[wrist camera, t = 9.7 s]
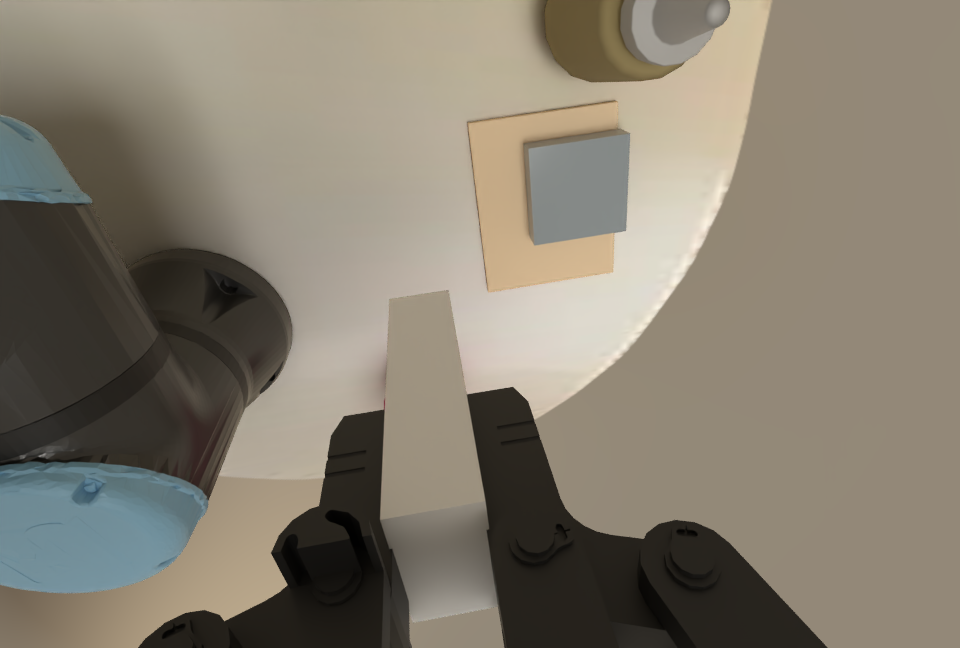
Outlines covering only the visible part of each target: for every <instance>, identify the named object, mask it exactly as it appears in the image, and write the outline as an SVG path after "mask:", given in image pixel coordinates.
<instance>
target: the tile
mask: <svg viewBox="0 0 960 648" xmlns="http://www.w3.org/2000/svg"><path fill="white" fill-rule="evenodd" d="M629 147H630V133H628V132H626V131H624V130H622V129H616V130H609V131H602V132H596V133H589V134H582V135H576V136H569V137H562V138H556V139H549V140H542V141H536V142H529V143H523V148H524V163H525V178H526V193H527V208H528V223H529V237H530V239H531V241H532V242H533V244H534V246H535V245H541V244H548V243H554V242H560V241H566V240H573V239H579V238H585V237H591V236H598V235H604V234H610V233H616V232H623V231H626V219H627V195H628V171H629Z"/></svg>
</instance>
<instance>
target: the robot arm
mask: <svg viewBox="0 0 960 648" xmlns="http://www.w3.org/2000/svg"><path fill="white" fill-rule="evenodd" d="M90 203H93V202H92V200H91V198H90V197H89V195H88V194H86V193H83V192H82V191H81V190H80V188H79V187H78V185H77V184H76V182H75V181H74V179H73V178H72V176H71V175H70V173H69V172H68V171H67V169H66V167H65V166H64V164H63V163H62V161H61V160H60V158H59V157H58V155H57V154H56V152H55V150H54V149H53V147H52V146H51V144H50V143H49V142H48V140H47V139H46V138H45V137H44V136H43V135H42V134H41V133H40V132H38V131H37V130H36V129H35V128H33V127H32V126H30V125H28V124H26V123H24V122H23V121H20V120H17V119H15V118H12V117H9V116H5V115H0V585H3V586H7V587H12V588H17V589H23V590H31V591H41V592H51V593H86V592H97V591H104V590H110V589H115V588H119V587H124V586H128V585H131V584H134V583H137V582H140V581H143V580H145V579H147V578H149V577H151V576H153V575H155V574H157V573H159V572H160V571H162V570H163V569H165V568H166V567H168V566H169V565H170V564H171V563H172V562H174V561H175V559H176V558H177V557H178V556H179V555H180V554H181V552H182V551H183V549H184V548H185V547H186V545H187V543H188V541H189V539H190V537H191V535H192V532H193V530H194V528H195V526H196V524H197V522H198V520H200V519H201V517H202V516H203V515H204V514H205V513H206V510H207V508H208V500H209V497H210V495H211V493H212V490H213V487H214V485H215V482H216V480H217V477H218V475H219V472H220V470H221V467H222V465H223V462H224V459H225V457H226V454H227V452H228V449H229V447H230V444H231V442H232V439H233V437H234V434H235V432H236V429H237V426H238V424H239V422H240V419H241V417H242V414H243V412H244V409H245V408H246V407H247V406H249V405H250V404H251V403H252V402H253V401H254V400H255V399H256V398H257V397H258V396H259V395H260V394H261V393H262V392H264V391H265V390H266V389H267V388H268V387H269V386H270V385H272V384H273V382H274V381H275V380H276V379H277V377H278V376H279V375H280V373H281V371H282V370H283V367H284V365H285V363H286V360H287V357H288V354H289V351H290V348H291V344H292V325H291V321H290V317H289V314H288V311H287V309H286V307H285V305H284V303H283V301H282V300H281V298H280V297H279V295H278V294H277V293H276V291H275V290H274V289H273V288H272V287H271V286H270V285H269V284H268V283H267V282H266V281H265V280H264V279H263V278H262V277H260V276H259V275H258V274H257V273H255V272H254V271H252V270H251V269H249V268H248V267H246V266H244V265H242V264H240V263H239V262H236V261H234V260H232V259H229V258H227V257H224V256H221V255H218V254H214V253H210V252H205V251H199V250H170V251H164V252H159V253H156V254H153V255H150V256H147V257H145V258H143V259H141V260H139V261H137V262H136V263H134V264H133V265H132V266H130V267H129V268H128V269H127V268H126V266H125V265H124V263H123V261H122V259H121V258H120V256H119V254H118V252H117V250H116V249H115V247H114V245H113V243H112V242H111V240H110V238H109V236H108V235H107V233H106V231H105V229H104V228H103V226H102V224H101V222H100V221H99V219H98V217H97V215H96V214H95V212H94V210H93V208H92V206H91V205H90ZM271 554H272V556H273V558H274V560H275V561H276V563H277V565H278V567H279V569H280V571H281V573H282V575H283V577H284V578H285V580H286V582H287V584H288V585H287V586H286V587H285V588H284V589H283V590H282V591H281V592H279V593H278V594H276V595H274V596H273V597H271V598H269V599H268V600H266V601H264V602H262V603H260V604H259V605H256V606H254V607H252V608H250V609H248V610H246V611H244V612H242V613H240V614H238V615H236V616H235V617H232V618H230V619H229V620H226V621H224V620H223V619H222V618H221V616H220V615H218V614H215V613H211V612H209V611H205V610H202V611H196V612H189V613H185V614H182V615H180V616H178V617H176V618H174V619H172V620H170V621H168V622H166V623H164V624H163V625H162V626H161V627H159V628H158V629H157V630H156V631H154V632H153V633H152V634H151V635H150V636H148V637H147V638H146V639H145V640H144V641H143V642H142V644H141V645H140V646H139V647H138V648H412V646H411V643H410V640H409V612H410V615H411V618H412V622H413V623H414V622H420V621H425V620H430V619H436V618H440V617H446V616H451V615H456V614H462V613H466V612H472V611H477V610H482V609H488V608H492V607H498V609H499V615H500V621H501V627H502V634H503V641H504V647H505V648H827V647H826V646H825V644H824V643H822V641H821V640H820V639H819V638H818V637H817V636H816V635H815V634H814V633H813V632H812V631H811V630H810V628H809V627H808V626H807V625H806V624H805V623H804V622H803V621H802V620H801V619H800V618H799V617H798V616H797V615H796V614H795V612H793V610H792V609H791V608H790V607H789V606H788V605H787V604H786V603H785V602H784V601H783V600H782V599H781V598H780V597H779V595H777V593H776V592H775V591H774V590H773V589H772V588H771V587H770V586H769V585H768V584H767V583H766V581H765V580H764V579H763V578H762V577H761V576H760V575H759V574H758V573H757V572H756V571H755V570H754V569H753V568H752V567H751V566H750V564H749V563H748V562H747V561H746V560H745V559H744V558H743V557H742V556H741V555H740V554H739V553H738V552H737V551H736V549H734V547H733V546H732V545H731V544H730V543H729V542H727V541H726V540H725V539H724V538H722V537H721V536H720V535H718V534H717V533H716V532H715V531H714V530H711V529H709V528H707V527H704V526H702V525H700V524H697V523H695V522H687V521H678V520H674V521H670V522H665V523H661V524H658V525H657V526H656V527H654V528H653V529H652V530H650V531H649V532H648V533H647V534H646V536H645V538H644V539H639V538H631V537H623V536H615V535H609V534H604V533H600V532H596V531H594V530H592V529H590V528H588V527H585V526H584V525H582V524H581V523H580V522H578V521H577V520H575V519H574V518H573V517H572V516H571V515H570V513H569V512H568V511H567V510H566V509H565V507H564V505H563V503H562V501H561V499H560V496H559V493H558V490H557V487H556V484H555V481H554V478H553V475H552V472H551V469H550V466H549V463H548V460H547V457H546V454H545V451H544V448H543V445H542V442H541V440H540V437H539V433H538V430H537V427H536V424H535V422H534V418H533V415H532V412H531V409H530V406H529V403H528V401H527V400H526V399H525V398H524V397H523V396H522V395H521V394H520V393H519V392H518V391H517V390H516V389H515V388H513V387H510V388H504V389H497V390H491V391H485V392H479V393H473V394H466V388H465V382H464V376H463V371H462V365H461V359H460V354H459V348H458V342H457V337H456V331H455V325H454V319H453V314H452V308H451V302H450V297H449V291H448V290H446V291H440V292H433V293H427V294H420V295H413V296H407V297H400V298H393V299H389V321H388V345H387V368H386V392H385V410H379V411H373V412H367V413H361V414H355V415H349V416H344V417H343V419H342V420H341V422H340V423H339V425H338V426H337V428H336V429H335V431H334V432H333V434H332V435H331V439H330V445H329V451H328V461H327V463H326V469H325V478H324V481H323V487H322V492H321V499H320V504H319V506H318V507H315V508H312V509H309V510H308V511H306V512H305V513H303V514H302V515H300V516H299V517H297V518H296V519H294V520H292V522H291V523H290V524H289V525H288V526H287V527H286V528H285V529H284V531H283V532H282V533H281V534H280V535H279V537H278V539H277V541H276V543H275V546H274V548H273V550H272V552H271Z"/></svg>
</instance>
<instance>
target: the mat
mask: <svg viewBox="0 0 960 648" xmlns="http://www.w3.org/2000/svg"><path fill="white" fill-rule="evenodd" d="M617 124H618V102H617V101H611V102H604V103H597V104H590V105H583V106H577V107H570V108H563V109H556V110H549V111H543V112H536V113H529V114H522V115H515V116H509V117H502V118H495V119H488V120H481V121H475V122H468V132H469V140H470V148H471V156H472V164H473V173H474V181H475V189H476V197H477V206H478V214H479V222H480V230H481V239H482V247H483V255H484V263H485V271H486V280H487V288H488V292H495V291H501V290H507V289H513V288H519V287H526V286H532V285H538V284H544V283H550V282H556V281H562V280H568V279H574V278H580V277H587V276H593V275H599V274H605V273H611V272H613V261H614V233H610V234H604V235H598V236H591V237H585V238H579V239H573V240H566V241H560V242H554V243H548V244H541V245H535V246H534V244H533V242H532V241H531V239H530V237H529V223H528V208H527V193H526V178H525V163H524V148H523V143H529V142H536V141H542V140H549V139H556V138H562V137H569V136H576V135H582V134H589V133H596V132H602V131H609V130H616V129H617Z"/></svg>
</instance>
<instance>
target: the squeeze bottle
mask: <svg viewBox="0 0 960 648" xmlns="http://www.w3.org/2000/svg"><path fill="white" fill-rule="evenodd" d="M729 13H730V4H729V1H728V0H547V4H546V7H545V30H546V39H547V41H548V44H549V46H550V49H551V51H552V54H553V56H554V58H555V60H556V61H557V62H558V63H559V64H560V65H561V66H562V67H563V68H564V69H565V70H566V71H567V72H568V73H569V74H570V75H571V76H574V77H577V78H580V79H583V80H586V81H589V82H627V81H644V80H652V79H659V78H662V77H664V76H665V75H667V74H669V73H670V72H672V71H674V70H675V69H677V68H679V67H681V66H682V65H683V64H684V62H685V61H687V60H688V59H690V58H692V57H693V56H695V55H697V54H698V53H699V51H700V50H701V49H702V48H703V47H704V46H705V44H706V43H707V42H708V41H709V40H710V39H711V36H712V34H713V32H714V30H715V28H717V27H719V26H721V25H722V24H723V23H724V22H725V21H726V20H727V18H728V16H729Z"/></svg>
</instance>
